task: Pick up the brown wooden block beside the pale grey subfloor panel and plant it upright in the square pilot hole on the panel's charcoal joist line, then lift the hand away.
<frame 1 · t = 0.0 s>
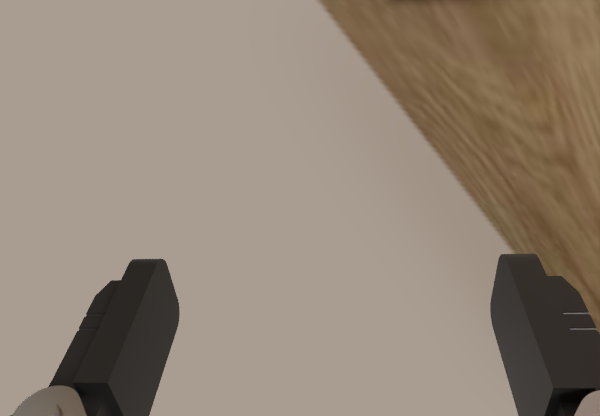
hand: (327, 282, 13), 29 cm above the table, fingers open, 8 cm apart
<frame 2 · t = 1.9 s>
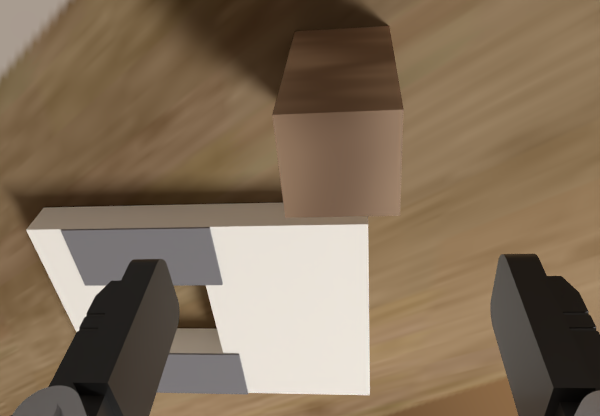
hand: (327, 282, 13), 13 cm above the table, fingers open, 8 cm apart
subfloor panel: (221, 295, 33), on the table
brown wooden block: (343, 73, 24), on the table
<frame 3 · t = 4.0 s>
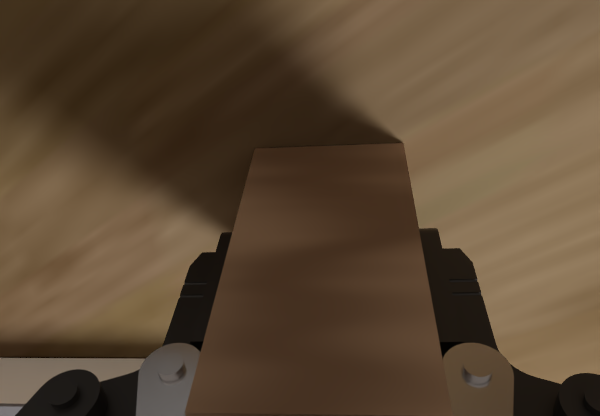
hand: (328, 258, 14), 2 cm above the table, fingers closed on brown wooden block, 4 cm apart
brown wooden block: (331, 205, 16), on the table, touching gripper
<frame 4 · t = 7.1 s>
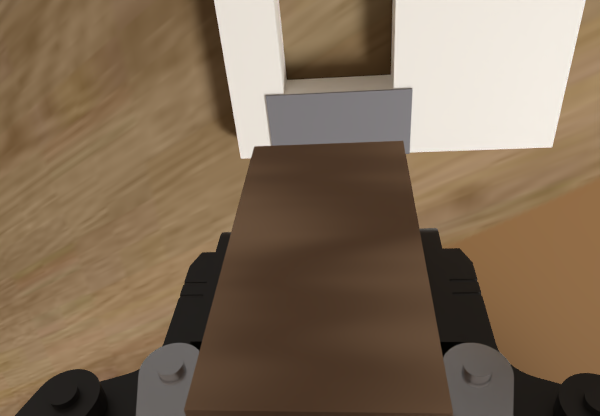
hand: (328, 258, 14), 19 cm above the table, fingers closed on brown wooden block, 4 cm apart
subfloor panel: (392, 21, 29), on the table
brown wooden block: (331, 203, 15), point 17 cm above the table, touching gripper
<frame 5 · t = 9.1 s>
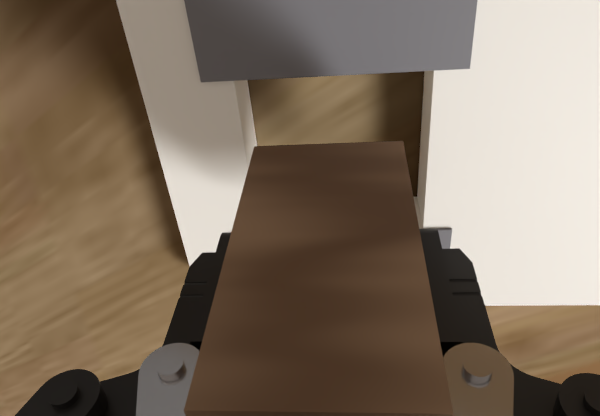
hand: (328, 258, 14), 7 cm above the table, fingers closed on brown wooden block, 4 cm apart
subfloor panel: (421, 127, 19), on the table
brown wooden block: (331, 203, 15), point 5 cm above the table, touching gripper
when the fingers open (4 cm above the table, at t = 10.6 s): brown wooden block drops 1 cm, resting in subfloor panel.
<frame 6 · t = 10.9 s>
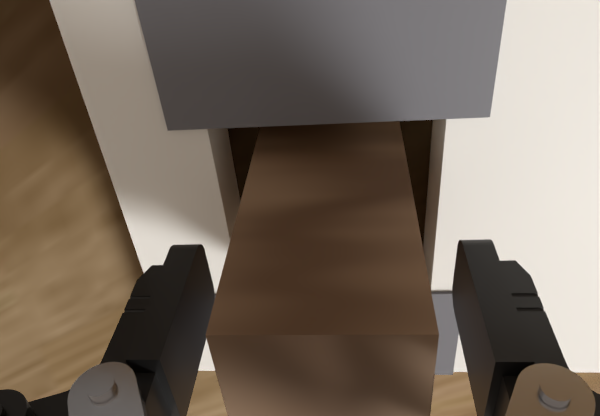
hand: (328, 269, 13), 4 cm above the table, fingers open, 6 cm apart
subfloor panel: (428, 175, 16), on the table
brown wooden block: (332, 176, 17), resting in subfloor panel
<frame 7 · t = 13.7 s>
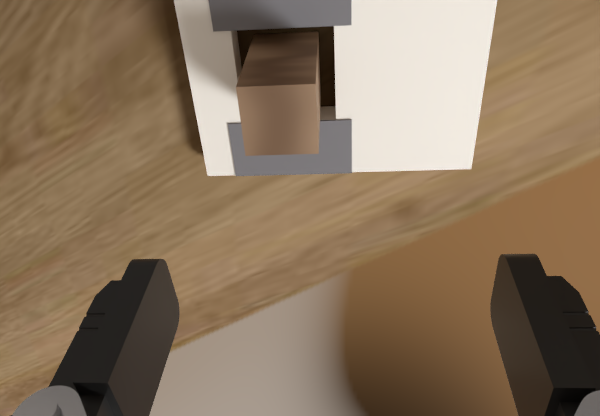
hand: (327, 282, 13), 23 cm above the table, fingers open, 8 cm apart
subfloor panel: (334, 62, 34), on the table
brown wooden block: (288, 63, 34), resting in subfloor panel
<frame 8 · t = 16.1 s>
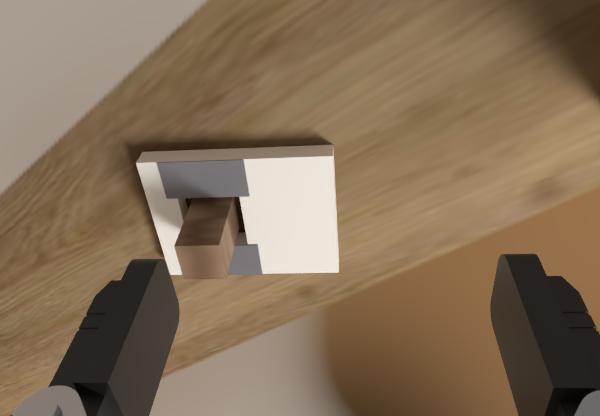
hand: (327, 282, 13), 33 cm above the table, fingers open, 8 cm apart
subfloor panel: (246, 208, 53), on the table
brown wooden block: (217, 209, 54), resting in subfloor panel
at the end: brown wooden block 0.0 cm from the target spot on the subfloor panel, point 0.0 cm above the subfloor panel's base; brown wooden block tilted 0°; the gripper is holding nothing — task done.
